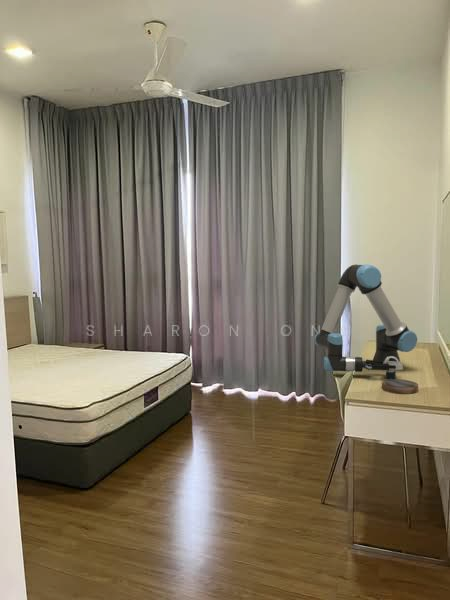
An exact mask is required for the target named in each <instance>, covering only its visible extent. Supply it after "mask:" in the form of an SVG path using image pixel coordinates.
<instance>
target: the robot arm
mask: <svg viewBox="0 0 450 600" xmlns="http://www.w3.org/2000/svg"><path fill="white" fill-rule="evenodd" d="M381 278H382V274H381V271H380V270H379V268H378V267H376V266H375V265H371V264H351V265H350V266H348V267H347V268H346V269H345V270H344V271H343V273H342V275H341V277H340V278H339V280H338V283H337V287H338V289H337V291H336V293H335V295H334V297H333V299H332V302H331V304H330V307H329V310H328V312H327V313H326V317H325V319H324V321H323V325H322V327H321V329H320V331H319V332H317V333H316V334H315V335H314V336H313V342H314V344H315V345H316V346H318V347H319V348H323V349H326V350H327V355H325V356H324V357H323V368H324V369H323V370H325V371H330V372H347V373H350V372H356V373H357V372H359V373H361V372H363V369H366V370H368V371H386V370H388V371H389V370H394V369H396V371H397V370H400V371H403V369H404V367H403V365H404V364H403V363H402V361H401V358H400V356H399V355H400V354H399V353H398V351H399V352H404V353H408V352H409V353H410V352H412V351H413V350H414V349H415V347H416V346H417V342H418V337H417V334H416V333H415V332H413V330H410V329H409V327H408V326H407V324H406V323H405V322H402V321H401V319H400V318H399V316H398V315H397V314H398V313H397V312H396V310H395V309H394V307H393V306H392V304H391V302H390V300H389V298H388V297H387V295H386V294H385V292H384V290H383V289H382V284H383V283H382V279H381ZM357 288H358V290H359V292H360V293H361V294H362V295H365V296H366V297H367V299H368V301H369V302H370V304H371V306H372V308H373V310H374V311H375V313H376V314H377V316H378V318H379V320H380V321H381V323H382V324H379V325H376V328H375V345H376V346H375V352H374V356H373V358H372V359H365V360H363V357H362V356H343V349H344V348H343V347H344V345H343V344H344V343H343V342H344V341H343V335H342V334H341V333H336V332H337V328H338V326H339V323H340V322H341V319H342V316H343V314H344V312H345V309H346V307H347V305H348V302H349V300H350V298H351V297H352V296H351V295H352V293H355V290H356V289H357ZM389 356H393V357H396V358H397V359H398V361H399V364H398V362H397V360H396V359H394V358H390V359H389V361H388V362H387V364H383V362H384V361H385V359H386V358H387V357H389Z"/></svg>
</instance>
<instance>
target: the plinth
mask: <svg viewBox="0 0 450 600" xmlns="http://www.w3.org/2000/svg"><path fill="white" fill-rule="evenodd" d="M381 389H382V390H383V391H384V392H387V393H391V394H397V395H412V394H416V393H418V392H419V384H418V382H416V381H415V382H414V381H413V380H412V381H411V380H407V379H400V378H399V379H398V378H397V379H396V378H395V379H384V380H383V381H382V382H381Z"/></svg>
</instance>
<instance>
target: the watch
mask: <svg viewBox="0 0 450 600" xmlns="http://www.w3.org/2000/svg"><path fill="white" fill-rule="evenodd" d="M390 358H394V359H396V360H397V362H398V364H399V361H398V359H397V358H396V357H393V356H389V357H387V358H386V359H385V361H384V362H383V364H387V362H388V361H389V359H390ZM396 374H397V370H396V369H389V371H388V370H385V380H390V379H396V377H397V375H396Z"/></svg>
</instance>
